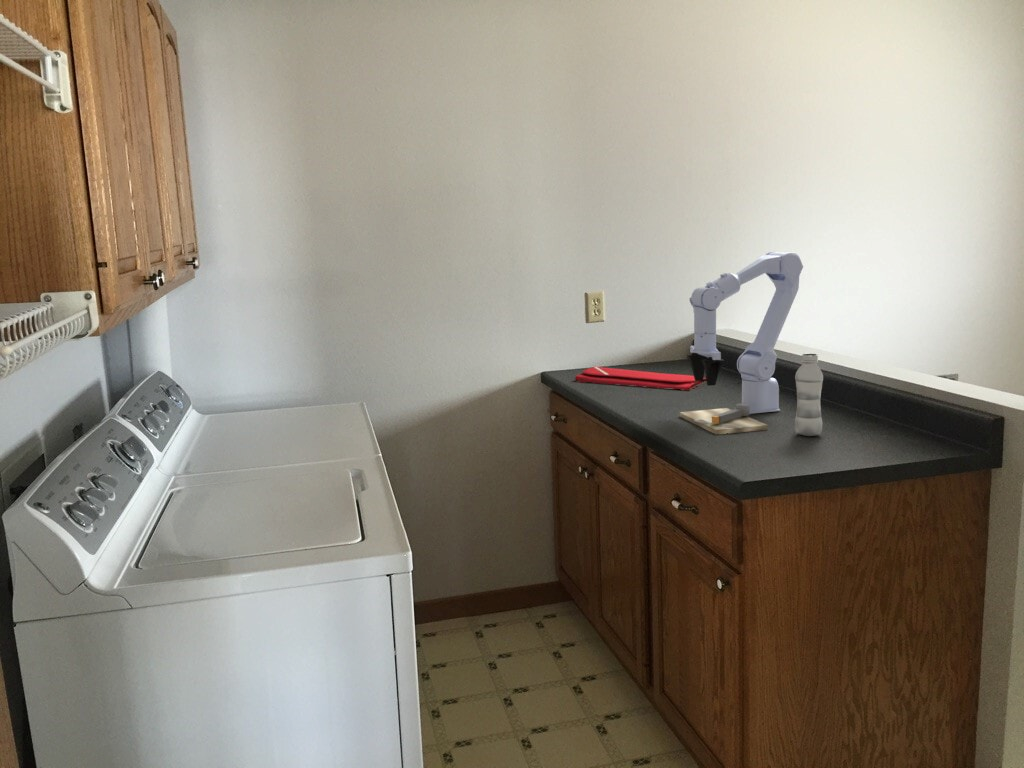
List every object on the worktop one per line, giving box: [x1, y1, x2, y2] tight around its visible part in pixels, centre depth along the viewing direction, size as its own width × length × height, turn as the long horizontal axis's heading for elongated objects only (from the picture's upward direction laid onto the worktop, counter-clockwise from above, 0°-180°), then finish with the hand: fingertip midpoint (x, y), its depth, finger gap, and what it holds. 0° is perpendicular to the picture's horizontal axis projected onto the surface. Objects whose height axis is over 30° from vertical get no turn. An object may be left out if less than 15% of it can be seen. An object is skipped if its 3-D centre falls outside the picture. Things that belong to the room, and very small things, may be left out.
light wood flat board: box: [679, 407, 768, 435], centre depth 237 cm, size 15×23×1 cm, turn 14°
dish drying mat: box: [575, 366, 706, 391], centre depth 298 cm, size 16×41×4 cm, turn 56°
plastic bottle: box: [793, 353, 824, 437], centre depth 220 cm, size 6×7×20 cm
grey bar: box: [712, 402, 751, 424], centre depth 235 cm, size 15×4×3 cm, turn 133°
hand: (705, 382), depth 243 cm, fingers open, 7 cm apart
